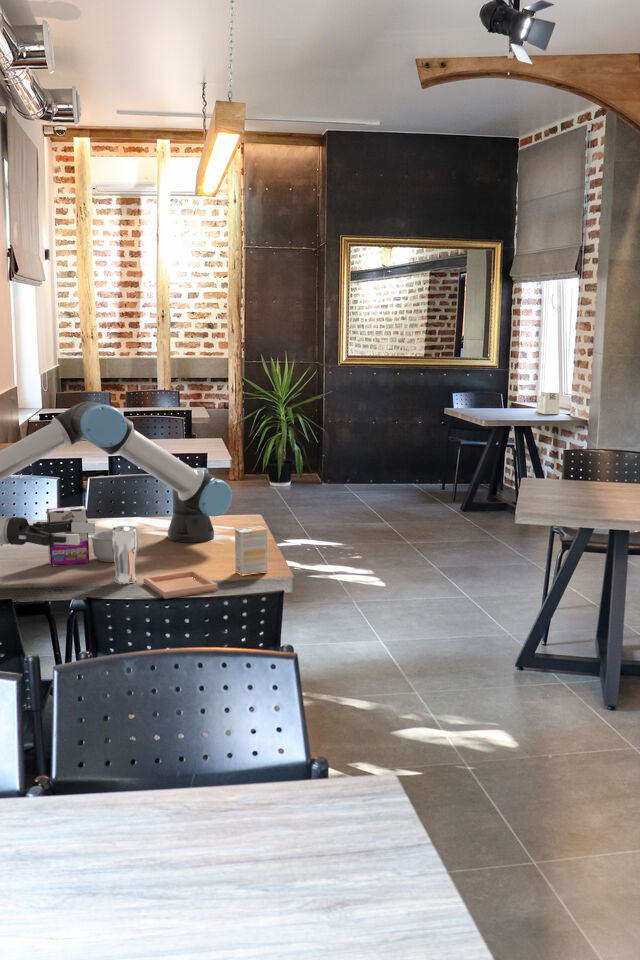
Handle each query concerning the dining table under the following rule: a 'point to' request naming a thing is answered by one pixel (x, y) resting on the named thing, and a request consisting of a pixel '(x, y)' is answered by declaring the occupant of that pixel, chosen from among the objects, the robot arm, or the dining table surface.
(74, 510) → the candy bar box
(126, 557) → the steel tumbler
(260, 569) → the supplement box
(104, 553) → the teacup
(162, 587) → the tray
